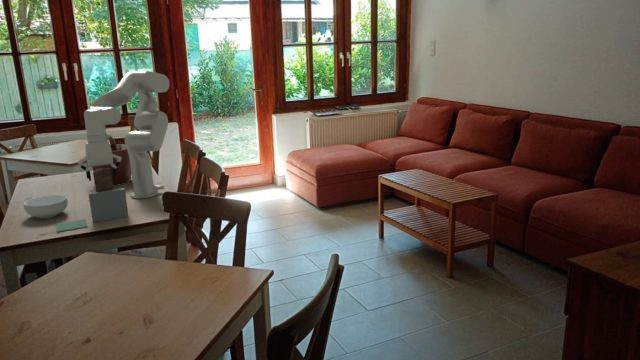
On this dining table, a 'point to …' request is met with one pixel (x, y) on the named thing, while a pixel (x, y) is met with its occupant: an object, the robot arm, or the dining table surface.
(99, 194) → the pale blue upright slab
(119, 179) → the bucket
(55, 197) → the cereal bowl
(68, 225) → the mat
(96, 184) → the brown textured block
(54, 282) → the dining table surface
